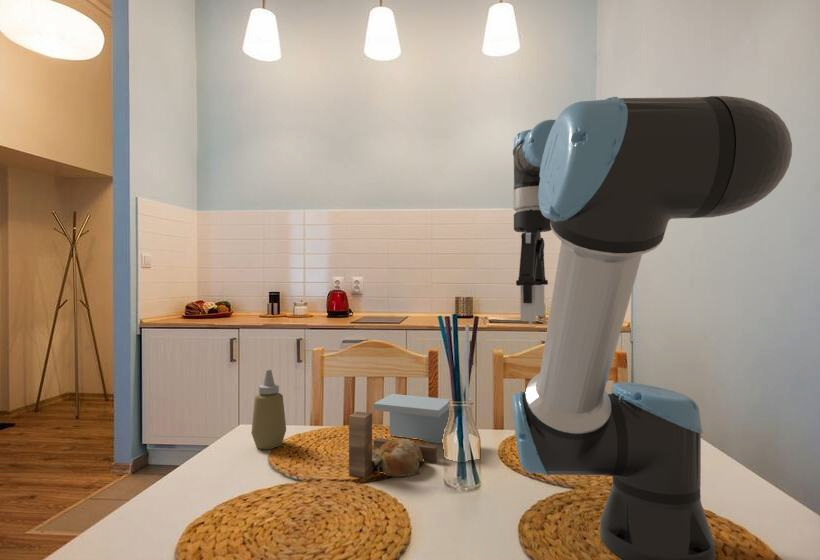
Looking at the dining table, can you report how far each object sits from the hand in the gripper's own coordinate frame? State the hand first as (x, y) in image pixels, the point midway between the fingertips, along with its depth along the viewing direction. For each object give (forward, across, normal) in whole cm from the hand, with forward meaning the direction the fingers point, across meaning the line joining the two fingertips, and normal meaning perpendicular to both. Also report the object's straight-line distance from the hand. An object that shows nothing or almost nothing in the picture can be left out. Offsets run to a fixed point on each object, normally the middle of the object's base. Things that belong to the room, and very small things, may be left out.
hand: (533, 318), depth 96 cm
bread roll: (+32, -5, +27) cm, 42 cm away
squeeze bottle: (+32, -4, +61) cm, 69 cm away
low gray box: (+32, +9, +29) cm, 44 cm away
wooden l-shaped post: (+32, -5, +28) cm, 43 cm away
